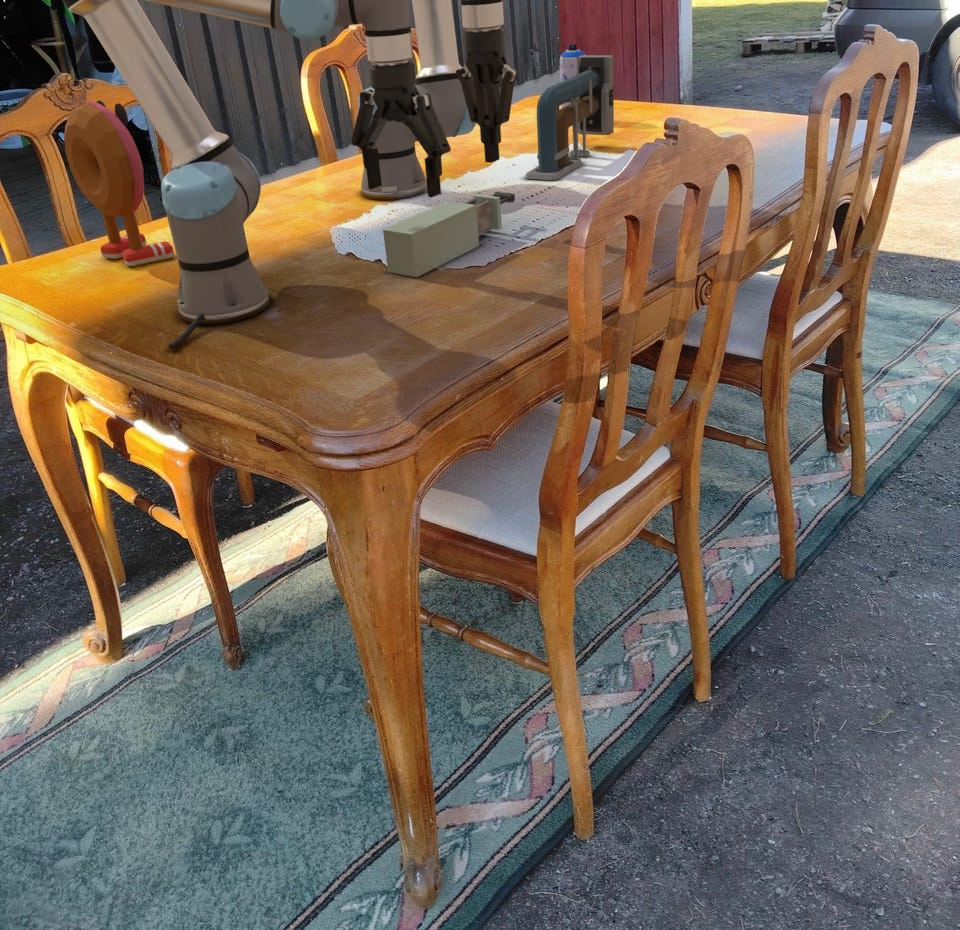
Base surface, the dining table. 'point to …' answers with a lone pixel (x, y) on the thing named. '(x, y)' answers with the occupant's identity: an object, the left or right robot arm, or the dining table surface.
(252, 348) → the dining table surface
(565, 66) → the aerosol can
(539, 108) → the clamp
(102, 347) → the dining table surface
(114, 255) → the toy
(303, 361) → the dining table surface
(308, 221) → the dining table surface
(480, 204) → the drawer
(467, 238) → the cabinet
